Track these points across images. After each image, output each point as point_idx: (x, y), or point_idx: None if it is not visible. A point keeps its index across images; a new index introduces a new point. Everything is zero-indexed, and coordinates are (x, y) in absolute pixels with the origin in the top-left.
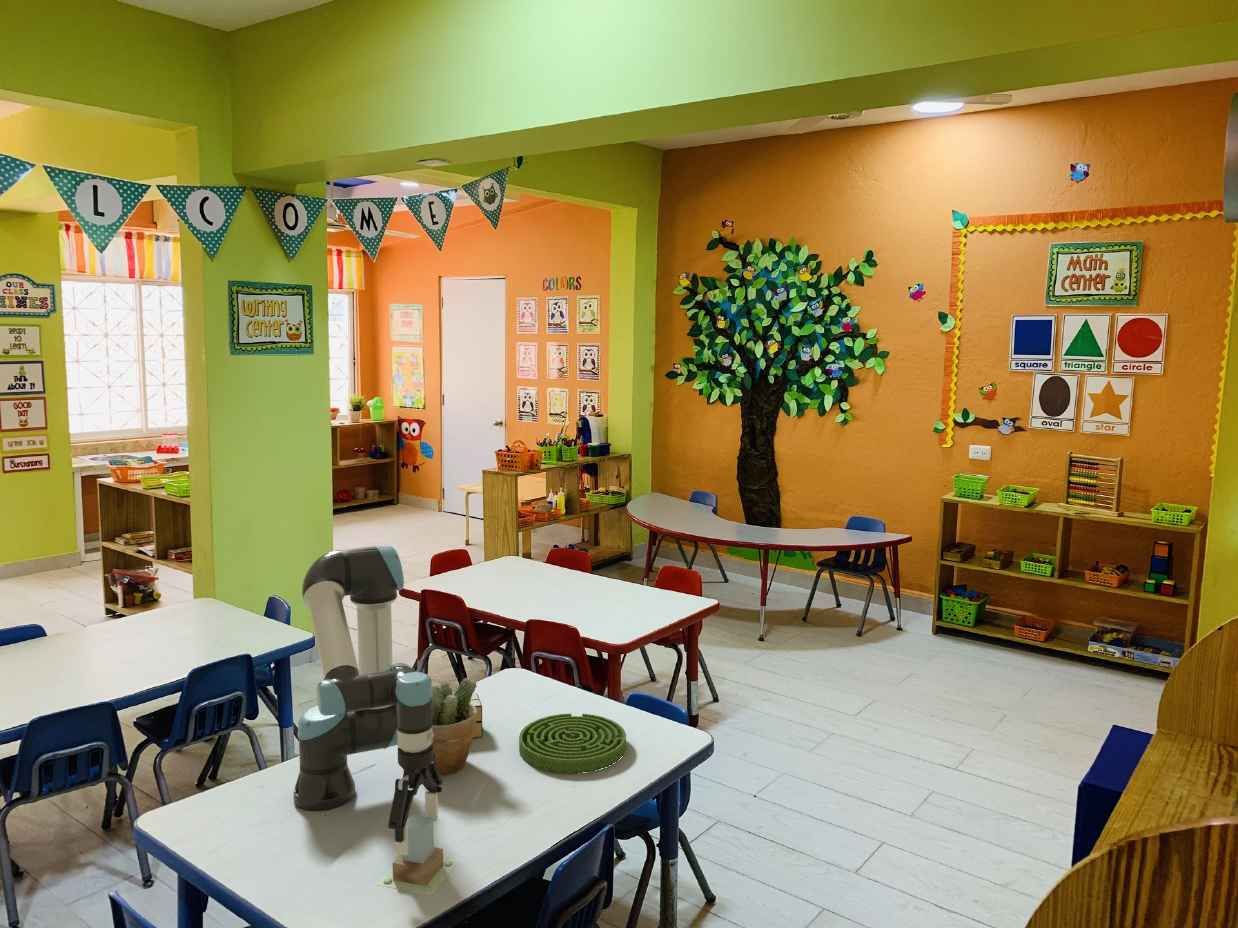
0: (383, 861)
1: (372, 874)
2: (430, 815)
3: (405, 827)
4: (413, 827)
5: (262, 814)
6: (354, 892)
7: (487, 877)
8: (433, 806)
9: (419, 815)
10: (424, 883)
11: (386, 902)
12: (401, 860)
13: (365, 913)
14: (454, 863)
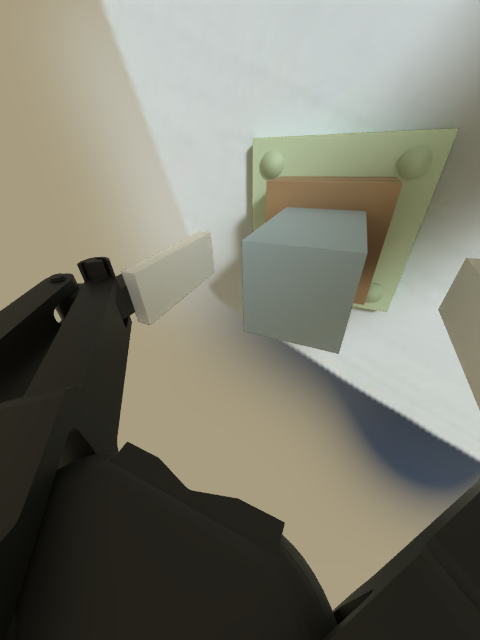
0: (414, 46)
1: (322, 65)
2: (458, 296)
3: (139, 317)
4: (245, 296)
5: None
6: (227, 73)
7: (338, 362)
8: (466, 342)
9: (354, 293)
10: None
11: (221, 197)
12: (284, 205)
13: (178, 169)
14: (373, 305)
